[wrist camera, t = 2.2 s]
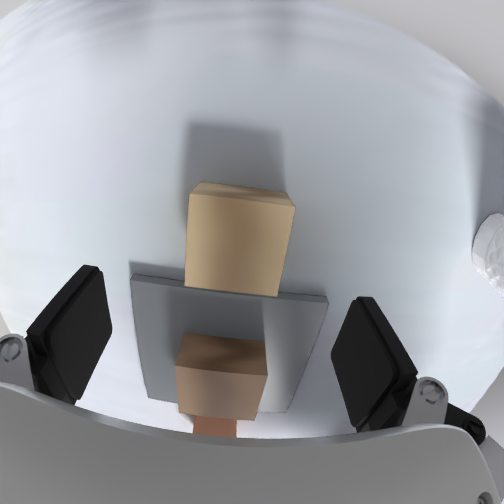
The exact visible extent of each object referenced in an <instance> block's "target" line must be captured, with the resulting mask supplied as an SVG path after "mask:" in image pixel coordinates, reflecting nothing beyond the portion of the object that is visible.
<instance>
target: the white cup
mask: <svg viewBox="0 0 504 504" xmlns="http://www.w3.org/2000/svg"><path fill="white" fill-rule="evenodd" d="M472 262H473V264H474V266H475V268H476V270H477V271H478V272H479V273H480V274H482V275H483V276H484V277H485V278H486V279H487V280H488V281H489V283H490V284H491V285H492V286H493V287H494V288H495V289H496V290H497V291H498V292H499V293H500V295H501V296H502V297H503V298H504V215H502V214H500V213H496V214H492V215H490V216H489V217H488V218H487V219H486V220H485V221H484V222H483V223H482V224H481V226H480V228H479V230H478V232H477V234H476V236H475V239H474V244H473V248H472Z"/></svg>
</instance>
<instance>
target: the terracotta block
mask: <svg viewBox="0 0 504 504" xmlns="http://www.w3.org/2000/svg"><path fill="white" fill-rule="evenodd" d="M236 424H237V420H236V419H224V418H214V417H206V416H198V415H195V419H194V427H193V434H201V435H210V436H221V437H234V438H236Z"/></svg>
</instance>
